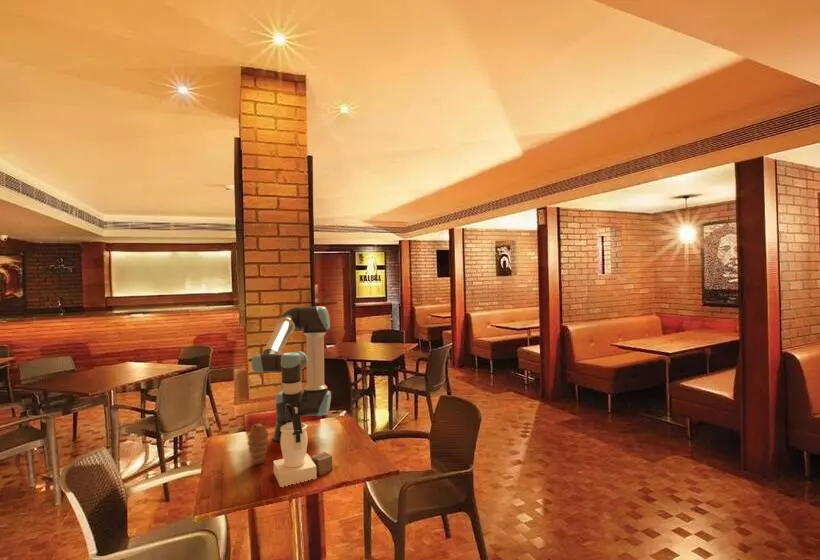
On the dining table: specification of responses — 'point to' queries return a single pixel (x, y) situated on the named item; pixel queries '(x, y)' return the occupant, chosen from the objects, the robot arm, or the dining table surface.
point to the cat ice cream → (258, 442)
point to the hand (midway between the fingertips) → (293, 443)
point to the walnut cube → (322, 462)
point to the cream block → (294, 472)
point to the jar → (287, 445)
